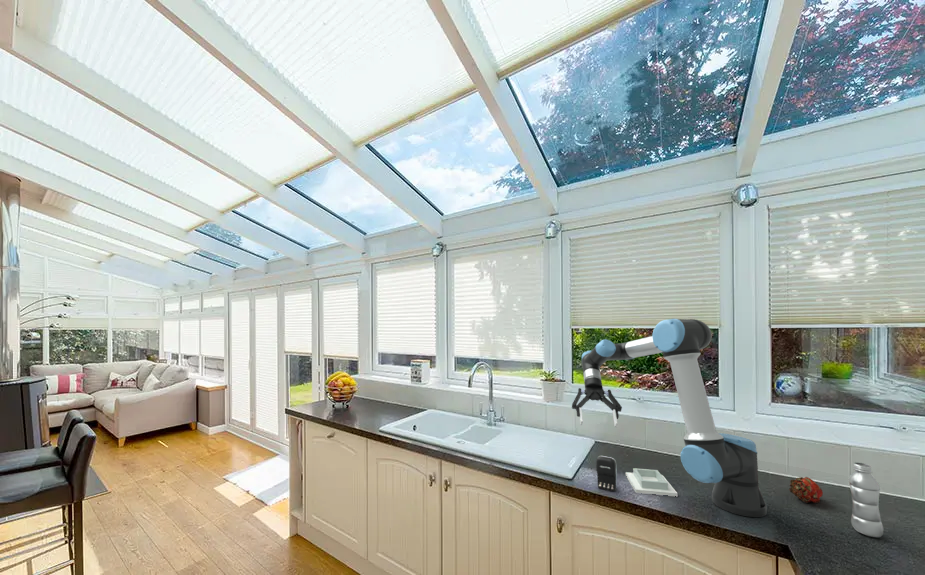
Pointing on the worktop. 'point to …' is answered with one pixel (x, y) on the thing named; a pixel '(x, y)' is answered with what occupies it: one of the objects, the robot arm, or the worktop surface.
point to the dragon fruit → (806, 489)
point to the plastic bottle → (865, 501)
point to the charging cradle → (650, 482)
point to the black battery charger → (606, 473)
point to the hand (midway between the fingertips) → (598, 424)
